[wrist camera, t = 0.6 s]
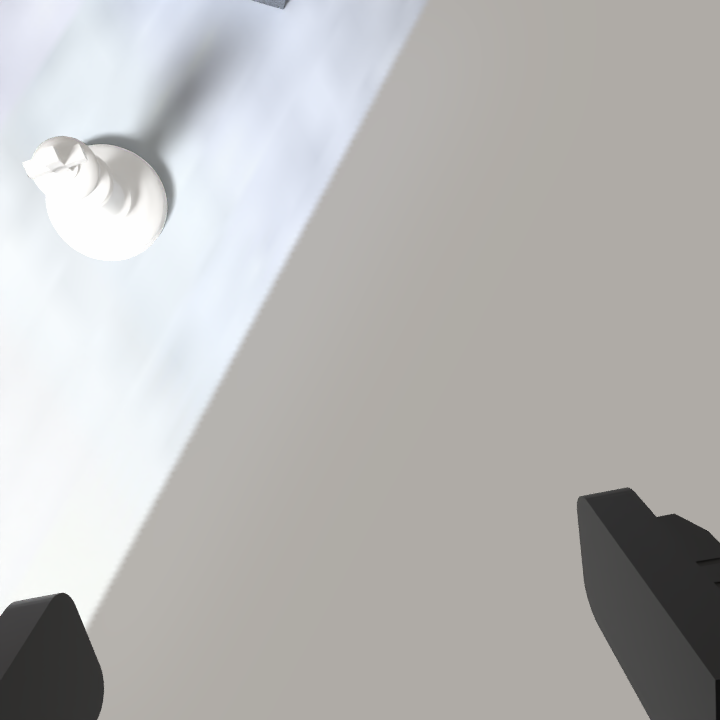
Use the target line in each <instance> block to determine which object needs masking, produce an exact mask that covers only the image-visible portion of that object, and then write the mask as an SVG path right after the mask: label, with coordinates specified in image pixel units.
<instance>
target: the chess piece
mask: <svg viewBox="0 0 720 720" xmlns="http://www.w3.org/2000/svg"><path fill="white" fill-rule="evenodd" d="M23 166H24V168H25V170H26V172H27V174H28V176H29V177H30V178H31V179H33V180H34V181H35V183H36V184H37V186H38V187H39V188H40V189H41V191H43V192H44V193H45V194H46V206H47V211H48V214H49V217H50V220H51V222H52V224H53V226H54V227H55V229H56V231H57V232H58V233H59V235H60V236H61V237H62V238H63V239H64V241H65V242H66V243H68V244H69V245H70V246H71V247H72V248H74V249H75V250H77V251H78V252H80V253H82V254H84V255H86V256H89V257H92V258H95V259H99V260H106V261H117V260H124V259H128V258H131V257H134V256H136V255H138V254H140V253H142V252H143V251H145V250H146V249H147V248H149V247H150V246H151V245H152V244H153V243H154V242H155V241H156V239H157V238H158V237H159V235H160V233H161V231H162V229H163V227H164V225H165V221H166V217H167V197H166V192H165V189H164V186H163V184H162V181H161V180H160V178H159V176H158V174H157V173H156V172H155V170H154V169H153V168H152V167H151V166H150V165H149V164H148V163H147V162H146V161H145V160H144V159H143V158H141V157H140V156H138V155H137V154H135V153H133V152H131V151H129V150H127V149H124V148H121V147H118V146H114V145H108V144H94V145H88V146H87V145H86V144H84V143H83V142H81V141H79V140H77V139H75V138H71V137H66V136H59V137H53V138H50V139H48V140H46V141H44V142H43V143H42V144H40V145H39V146H38V148H37V149H36V150H35V152H34V154H33V157H32V160H29V161H26V162H23Z"/></svg>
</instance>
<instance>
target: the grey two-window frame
mask: <svg viewBox="0 0 720 720" xmlns="http://www.w3.org/2000/svg"><path fill="white" fill-rule="evenodd" d="M253 1H257V2H260V3H264V4H267V5H271V6H274V7H278V8H281V9H284V5H285V0H253Z"/></svg>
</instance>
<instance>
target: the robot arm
mask: <svg viewBox="0 0 720 720" xmlns="http://www.w3.org/2000/svg"><path fill="white" fill-rule="evenodd" d="M577 514H578V525H579V534H580V545H581V556H582V565H583V576H584V583H585V589H586V593H587V597H588V601H589V604H590V607H591V610H592V612H593V615H594V617H595V620H596V622H597V624H598V626H599V627H600V629H601V631H602V632H603V634H604V637H605V638H606V640H607V642H608V644H609V646H610V647H611V649H612V651H613V653H614V655H615V656H616V658H617V660H618V662H619V664H620V665H621V667H622V669H623V670H624V673H625V674H626V676H627V678H628V680H629V681H630V683H631V685H632V687H633V689H634V691H635V692H636V694H637V696H638V698H639V700H640V701H641V703H642V705H643V707H644V709H645V710H646V712H647V714H648V716H649V718H650V720H720V543H719V542H718V541H717V540H716V539H715V538H714V537H713V536H712V535H711V533H710V532H709V531H707V530H705V529H703V528H701V527H699V526H697V525H695V524H693V523H692V522H690V521H688V520H686V519H684V518H682V517H680V516H678V515H676V514H670V515H665V516H660V517H656V516H655V515H654V514H653V512H652V511H651V510H650V509H649V508H648V507H647V506H646V505H645V503H644V502H643V501H642V500H641V499H640V498H639V497H638V495H637V494H636V493H635V492H634V491H633V490H632V489H630V488H622V489H617V490H611V491H606V492H601V493H595V494H590V495H585V496H580V497H579V498H578V501H577ZM103 695H104V681H103V674H102V670H101V668H100V664H99V662H98V660H97V657H96V655H95V652H94V650H93V647H92V645H91V642H90V640H89V637H88V635H87V633H86V630H85V628H84V625H83V623H82V620H81V618H80V615H79V613H78V611H77V608H76V606H75V604H74V602H73V600H72V599H71V597H70V596H69V595H67V594H65V593H58V594H53V595H47V596H42V597H37V598H32V599H26V600H21V601H16V602H13V603H11V604H10V605H9V606H8V607H7V608H6V609H5V611H4V612H3V613H2V615H1V616H0V720H97V719H98V716H99V714H100V711H101V708H102V703H103Z"/></svg>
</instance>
